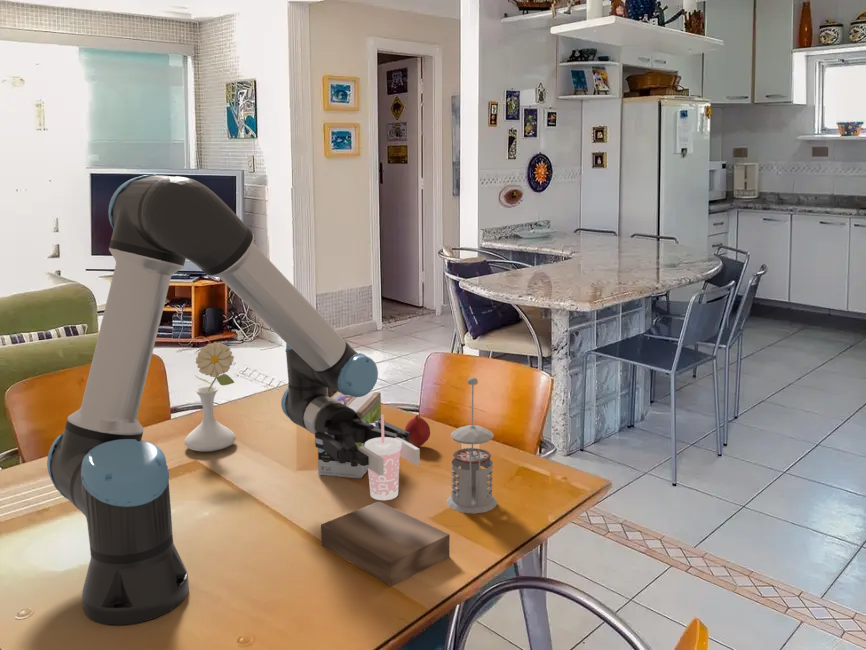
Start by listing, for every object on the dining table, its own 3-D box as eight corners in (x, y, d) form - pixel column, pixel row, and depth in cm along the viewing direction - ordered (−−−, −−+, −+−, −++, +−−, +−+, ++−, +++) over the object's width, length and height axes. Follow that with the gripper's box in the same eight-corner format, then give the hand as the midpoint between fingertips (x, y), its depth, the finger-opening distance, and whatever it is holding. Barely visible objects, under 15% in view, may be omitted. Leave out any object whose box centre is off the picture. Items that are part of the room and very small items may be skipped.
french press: (494, 490, 158) (496, 369, 153) (501, 517, 147) (503, 387, 141) (445, 491, 158) (445, 370, 152) (448, 518, 146) (448, 388, 141)
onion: (400, 445, 183) (400, 411, 181) (423, 441, 185) (423, 408, 183) (410, 453, 177) (410, 419, 176) (434, 449, 180) (434, 415, 178)
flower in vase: (174, 453, 178) (166, 345, 173) (203, 436, 189) (195, 333, 183) (225, 459, 174) (218, 349, 169) (251, 441, 185) (246, 337, 180)
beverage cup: (360, 500, 130) (358, 419, 127) (372, 485, 136) (370, 407, 133) (396, 503, 129) (395, 422, 125) (406, 488, 134) (405, 409, 131)
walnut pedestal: (391, 585, 124) (390, 562, 123) (321, 546, 136) (320, 524, 135) (449, 556, 132) (449, 534, 132) (379, 521, 145) (378, 501, 144)
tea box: (363, 479, 164) (362, 411, 160) (317, 476, 165) (314, 408, 162) (382, 453, 178) (381, 390, 175) (339, 450, 180) (337, 387, 177)
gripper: (378, 430, 151) (448, 470, 132) (285, 452, 141) (347, 498, 122) (377, 393, 149) (448, 427, 131) (283, 412, 139) (346, 453, 120)
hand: (399, 461), depth 126 cm, fingers closed on beverage cup, 6 cm apart
